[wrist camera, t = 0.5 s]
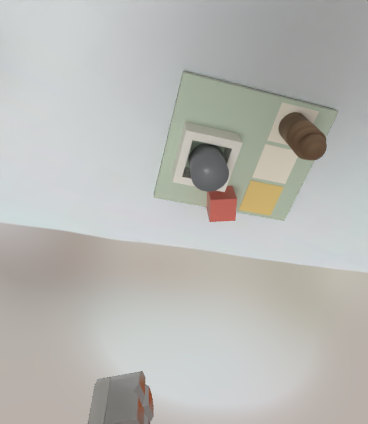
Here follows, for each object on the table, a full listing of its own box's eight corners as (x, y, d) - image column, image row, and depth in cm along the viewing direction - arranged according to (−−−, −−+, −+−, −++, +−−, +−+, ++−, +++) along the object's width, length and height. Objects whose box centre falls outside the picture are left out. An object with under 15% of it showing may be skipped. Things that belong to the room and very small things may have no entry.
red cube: (207, 186, 48) (210, 200, 45) (232, 185, 48) (237, 198, 45) (206, 207, 50) (209, 221, 47) (230, 206, 50) (235, 220, 47)
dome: (193, 140, 42) (196, 154, 38) (228, 147, 42) (234, 161, 39) (184, 172, 44) (186, 187, 41) (217, 178, 45) (222, 194, 41)
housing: (184, 121, 42) (186, 130, 40) (237, 133, 44) (242, 142, 41) (171, 171, 46) (172, 182, 44) (221, 181, 48) (224, 192, 45)
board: (183, 70, 40) (183, 72, 39) (334, 109, 44) (338, 112, 43) (153, 193, 49) (153, 197, 48) (282, 217, 53) (284, 221, 52)
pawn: (285, 109, 42) (309, 133, 36) (311, 115, 43) (339, 140, 36) (274, 136, 44) (295, 164, 38) (299, 142, 45) (324, 170, 38)
